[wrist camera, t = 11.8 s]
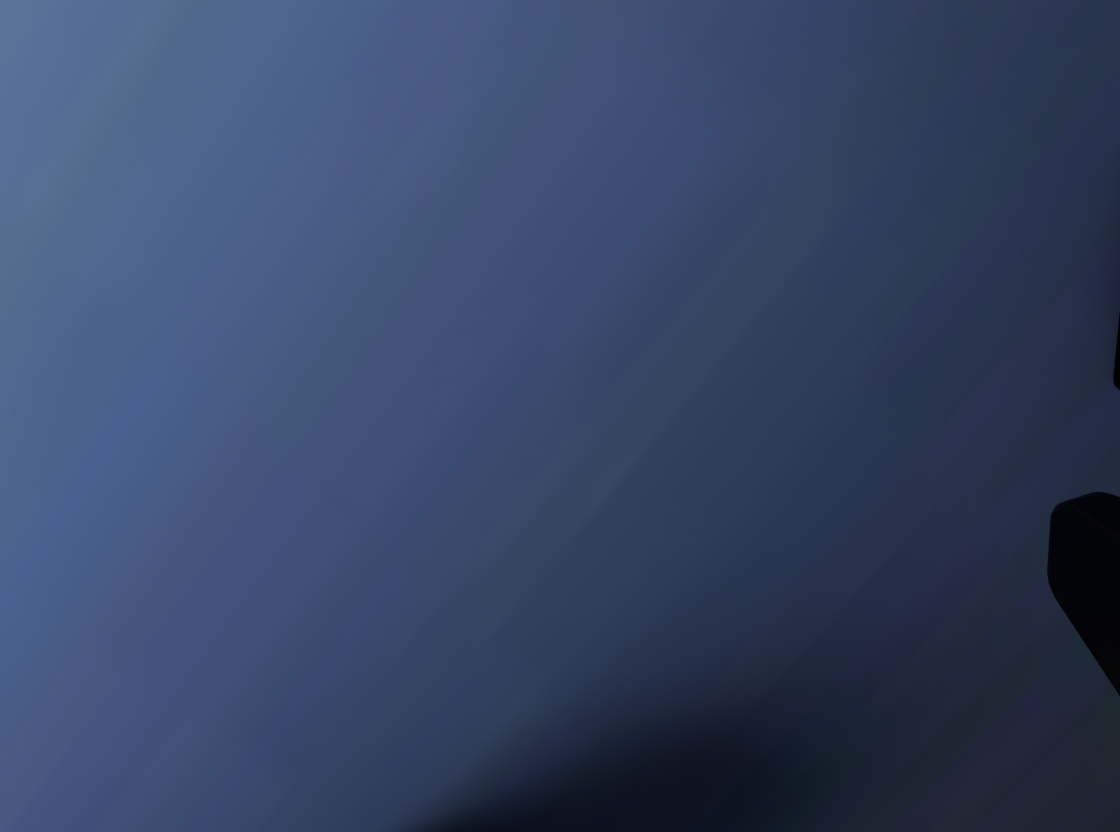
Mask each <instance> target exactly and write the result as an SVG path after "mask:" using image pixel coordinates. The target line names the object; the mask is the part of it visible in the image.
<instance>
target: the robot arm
mask: <svg viewBox="0 0 1120 832" xmlns="http://www.w3.org/2000/svg"><path fill="white" fill-rule="evenodd" d="M1113 379H1114V385H1115V386H1116V387H1117V389H1119V390H1120V315H1119V326H1118V336H1117V347H1116V357H1115V367H1114V378H1113ZM1047 574H1048V581H1049V585H1050V588H1051V590H1052V592H1053V595H1054V597H1055V598H1056V600H1057V602H1058V603H1059V605H1060V606H1061V608H1062V609H1063V611H1064V612H1065V614H1066V615H1067V617H1068V618H1069V620H1070V622H1071V623H1072V625H1073V626H1074V628H1075V629H1076V631H1077V632H1078V634H1079V635H1080V637H1081V638H1082V640H1083V641H1084V643H1085V644H1086V646H1087V647H1088V649H1089V650H1090V652H1091V653H1092V655H1093V656H1094V658H1095V659H1096V661H1097V662H1098V664H1099V665H1100V667H1101V668H1102V670H1103V671H1104V673H1105V674H1106V676H1107V678H1108V679H1109V681H1110V682H1111V684H1112V685H1113V687H1114V688H1115V690H1116V691H1117V693H1118V694H1119V696H1120V497H1118V496H1115V495H1112V494H1109V493H1105V492H1092V493H1089V494H1086V495H1083V496H1080V497H1077V498H1073V499H1070V500H1067V501H1064V502H1061V503H1059V504H1058V505H1056V506H1055V508H1054V510H1053V511H1052V513H1051V519H1050V534H1049V550H1048V566H1047Z"/></svg>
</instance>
